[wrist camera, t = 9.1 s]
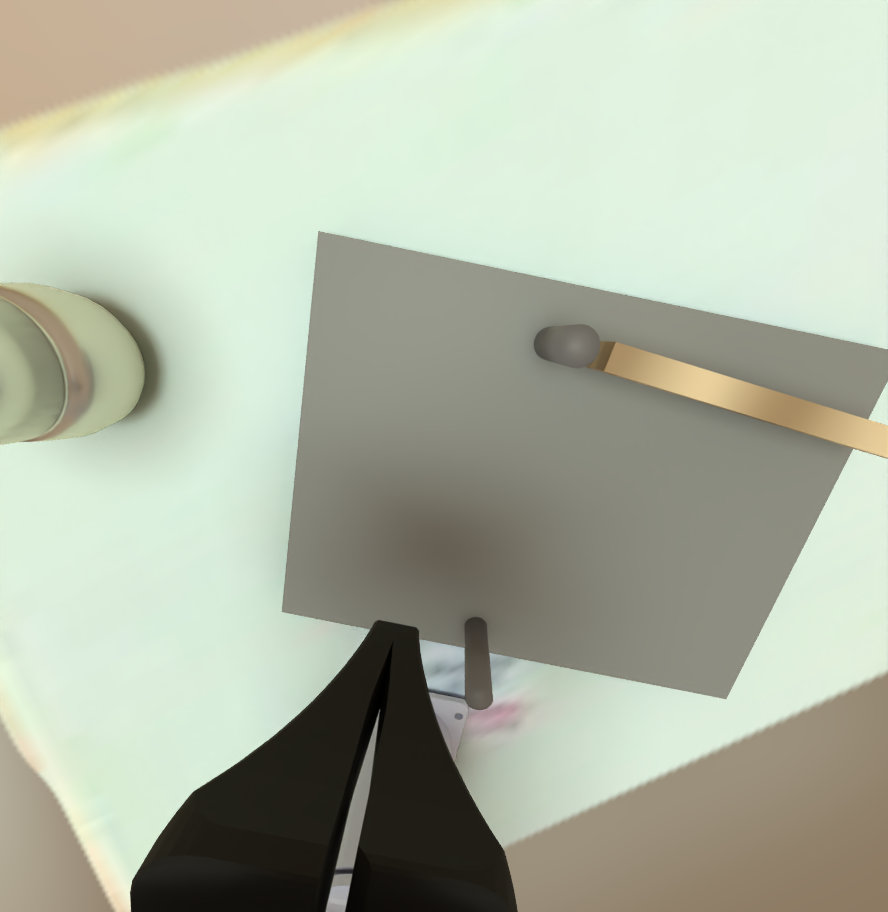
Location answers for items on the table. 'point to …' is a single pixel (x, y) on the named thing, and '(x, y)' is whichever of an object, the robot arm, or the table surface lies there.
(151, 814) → the table surface
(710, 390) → the board
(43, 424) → the plastic bottle
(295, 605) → the gate board
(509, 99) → the table surface
